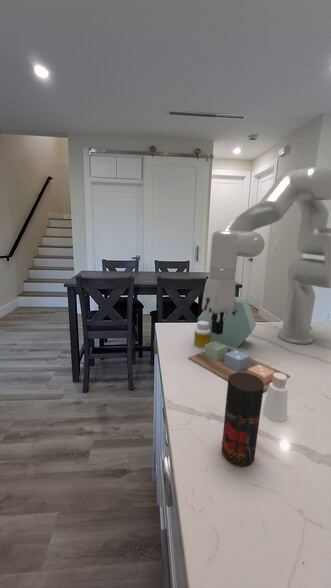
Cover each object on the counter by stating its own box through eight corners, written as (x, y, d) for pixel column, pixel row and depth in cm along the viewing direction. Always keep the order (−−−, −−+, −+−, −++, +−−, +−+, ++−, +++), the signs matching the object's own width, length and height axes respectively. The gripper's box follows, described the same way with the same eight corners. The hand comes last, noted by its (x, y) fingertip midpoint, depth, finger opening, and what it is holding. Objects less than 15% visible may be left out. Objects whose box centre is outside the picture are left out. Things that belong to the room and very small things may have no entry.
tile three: (256, 376, 76) (258, 363, 75) (273, 385, 72) (275, 371, 71) (246, 382, 73) (247, 368, 72) (262, 391, 69) (264, 376, 68)
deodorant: (217, 441, 52) (224, 372, 49) (247, 440, 53) (255, 372, 49) (226, 468, 46) (234, 391, 43) (259, 466, 47) (270, 391, 44)
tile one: (214, 352, 88) (215, 340, 87) (226, 357, 84) (227, 345, 83) (204, 356, 85) (205, 343, 84) (216, 362, 81) (217, 349, 80)
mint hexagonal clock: (230, 352, 102) (266, 314, 92) (224, 360, 95) (263, 320, 86) (197, 322, 106) (229, 283, 97) (189, 328, 99) (222, 286, 90)
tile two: (234, 361, 82) (235, 349, 81) (248, 368, 78) (249, 355, 77) (223, 366, 79) (225, 353, 78) (237, 373, 75) (239, 359, 74)
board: (221, 350, 93) (222, 345, 92) (288, 381, 74) (289, 375, 74) (188, 363, 83) (188, 357, 82) (255, 402, 65) (256, 395, 64)
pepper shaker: (265, 408, 63) (271, 366, 60) (289, 419, 59) (297, 374, 57) (256, 420, 58) (262, 375, 56) (282, 432, 55) (290, 385, 53)
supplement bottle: (208, 353, 90) (210, 326, 88) (193, 351, 91) (194, 324, 89) (209, 346, 95) (211, 320, 93) (194, 344, 96) (196, 319, 94)
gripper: (228, 271, 86) (223, 325, 90) (194, 273, 76) (190, 333, 81) (248, 274, 80) (241, 332, 84) (214, 277, 71) (209, 342, 75)
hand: (216, 332), depth 82 cm, fingers closed
